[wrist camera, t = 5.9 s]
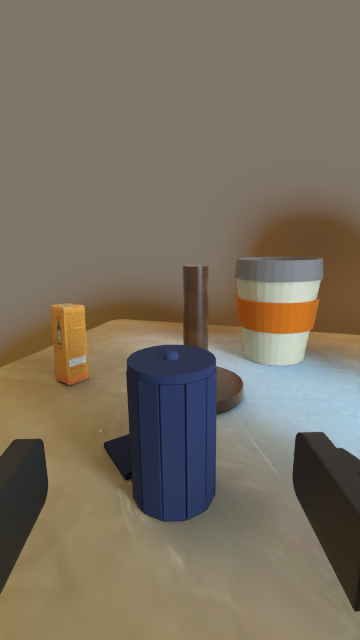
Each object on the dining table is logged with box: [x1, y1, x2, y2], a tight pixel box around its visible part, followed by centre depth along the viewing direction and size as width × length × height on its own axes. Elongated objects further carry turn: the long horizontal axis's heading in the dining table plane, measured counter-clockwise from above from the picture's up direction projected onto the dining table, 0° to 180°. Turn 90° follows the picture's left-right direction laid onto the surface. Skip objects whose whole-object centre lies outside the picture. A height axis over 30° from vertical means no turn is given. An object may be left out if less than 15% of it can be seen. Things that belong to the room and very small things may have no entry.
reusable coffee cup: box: [235, 257, 323, 366], centre depth 49 cm, size 13×13×15 cm
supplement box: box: [51, 304, 89, 385], centre depth 42 cm, size 3×3×10 cm
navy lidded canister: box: [104, 345, 217, 521], centre depth 24 cm, size 10×6×10 cm, turn 32°
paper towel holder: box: [183, 265, 243, 414], centre depth 37 cm, size 11×11×15 cm
